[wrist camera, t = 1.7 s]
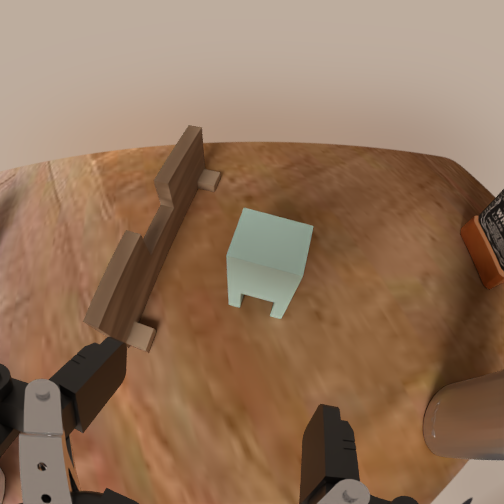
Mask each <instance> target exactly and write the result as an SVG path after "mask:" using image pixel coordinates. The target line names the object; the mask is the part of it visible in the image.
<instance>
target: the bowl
mask: <svg viewBox="0 0 504 504" xmlns="http://www.w3.org/2000/svg"><path fill="white" fill-rule="evenodd" d="M4 490H5V476H4V474H3V472H2V470H1V469H0V504H2V501H3V496H4Z"/></svg>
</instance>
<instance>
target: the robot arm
mask: <svg viewBox="0 0 504 504" xmlns="http://www.w3.org/2000/svg"><path fill="white" fill-rule="evenodd" d="M126 358H127V345H126V343H124V342H122V341H120V340H117V339H115V338H113V337H107V338H106V339H105V340H104V341H103V342H102V343H101V344H100V345H99V344H97V343H93V344H90V345H88V346H85V347H84V348H83V349H82V350H80V351H79V352H78V353H77V355H75V356H74V357H73V358H72V359H71V360H69V361H68V362H67V363H66V364H65V365H64V366H63V367H62V368H61V369H60V370H59V371H58V372H57V373H55V374H54V375H53V376H52V377H51V378H50V379H49V380H46V379H37V380H34V381H32V382H30V383H25V382H22V381H19V380H16V379H14V378H11V375H10V372H9V370H8V368H7V367H6V366H4V365H2V364H0V457H1V456H2V455H3V453H4V452H5V451H6V449H7V448H8V447H9V446H10V444H11V443H12V442H13V441H14V439H15V438H16V437H17V436H18V434H19V433H20V432H21V433H20V434H19V463H20V479H21V490H22V499H23V503H20V504H139V503H137V502H136V501H134V500H132V499H129V498H127V497H125V496H123V495H121V494H118V493H116V492H114V491H112V490H110V489H108V488H106V490H105V491H104V493H99V492H93V491H81V488H80V484H79V480H78V477H77V473H76V468H75V462H74V456H73V450H72V443H71V436H70V433H71V432H72V431H73V430H74V428H75V429H77V430H78V431H80V432H82V433H84V431H85V430H86V429H87V427H88V426H89V425H90V424H91V422H92V421H93V420H94V418H95V417H96V416H97V414H98V413H99V412H100V411H101V409H102V408H103V407H104V405H105V404H106V403H107V402H108V400H109V399H110V398H111V396H112V395H113V394H114V393H115V391H116V390H117V389H118V388H119V386H120V385H121V384H122V382H123V380H124V378H125V375H126ZM22 432H23V433H22ZM423 433H424V438H425V442H426V444H427V446H428V448H429V449H430V450H431V451H432V452H433V453H434V454H436V455H438V456H442V457H450V458H461V459H474V460H504V370H501V371H497V372H494V373H491V374H487V375H484V376H480V377H476V378H472V379H468V380H464V381H460V382H456V383H452V384H449V385H447V386H444V387H443V388H442V389H440V390H439V391H438V392H437V393H436V394H435V396H434V397H433V398H432V400H431V402H430V403H429V405H428V408H427V410H426V413H425V417H424V424H423ZM354 442H355V439H354V432H353V429H352V428H351V426H350V425H349V423H348V421H343V420H341V418H340V410H339V408H338V407H334V406H329V405H324V404H320V405H319V406H318V408H317V410H316V411H315V413H314V415H313V417H312V418H311V420H310V422H309V424H308V425H307V427H306V429H305V432H304V435H303V441H302V464H301V484H300V500H299V504H418V502H417V501H416V500H414V499H413V498H411V497H408V496H400V497H397V498H395V499H394V500H393V501H387V500H384V499H380V498H377V497H374V496H372V495H370V493H369V490H368V489H367V487H366V486H365V485H364V484H363V483H361V482H360V479H359V470H358V462H357V454H356V451H355V450H356V446H355V443H354Z"/></svg>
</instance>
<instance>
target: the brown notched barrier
mask: <svg viewBox="0 0 504 504" xmlns="http://www.w3.org/2000/svg"><path fill="white" fill-rule="evenodd" d="M219 181H220V172H216V171H212V170H207V169H205V161H204V149H203V139H202V128H201V127H196V126H188V128H187V129H186V131H185V132H184V133H183V135H182V136H181V138H180V140H179V141H178V143H177V144H176V146H175V147H174V149H173V150H172V152H171V153H170V155H169V157H168V158H167V160H166V161H165V163H164V165H163V166H162V168H161V169H160V171H159V173H158V174H157V176H156V178H155V179H154V183H155V187H156V190H157V194H158V197H159V200H160V204H161V205H160V207H159V209H158V211H157V213H156V215H155V217H154V219H153V221H152V223H151V225H150V226H149V228H148V230H147V232H146V234H145V236H144V238H142V236H141V234H138V233H134V232H131V231H127V230H126V231H125V233H124V235H123V237H122V239H121V240H120V242H119V244H118V246H117V248H116V250H115V252H114V254H113V256H112V258H111V260H110V262H109V265H108V267H107V269H106V271H105V273H104V275H103V277H102V279H101V281H100V284H99V286H98V288H97V290H96V292H95V295H94V297H93V299H92V302H91V304H90V306H89V308H88V311H87V313H86V316H85V318H84V320H83V322H85V323H86V324H88V325H89V326H91V327H92V328H94V329H95V330H97V331H98V332H100V333H102V334H103V335H105V336H106V337H113V338H115V339H117V340H120V341H122V342H124V343H126V345H127V347H128V348H129V347H130V346H133V347H135V348H138V349H140V350H143V351H146V352H148V353H149V351H150V348H151V345H152V343H153V340H154V337H155V334H156V332H157V331H156V330H155V329H154V328H151V327H148V326H145V325H143V324H140V323H139V321H140V318H141V315H142V313H143V310H144V308H145V306H146V303H147V301H148V298H149V296H150V293H151V291H152V288H153V286H154V284H155V281H156V279H157V277H158V274H159V272H160V270H161V267H162V265H163V263H164V260H165V258H166V256H167V254H168V251H169V249H170V247H171V245H172V242H173V240H174V238H175V236H176V234H177V232H178V229H179V227H180V225H181V223H182V221H183V219H184V217H185V214H186V212H187V210H188V208H189V206H190V204H191V202H192V200H193V198H194V196H195V194H196V192H197V190H198V188H199V189H203V190H208V191H212V192H215V189H216V187H217V185H218V183H219Z"/></svg>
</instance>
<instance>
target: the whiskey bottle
mask: <svg viewBox="0 0 504 504" xmlns="http://www.w3.org/2000/svg"><path fill="white" fill-rule="evenodd" d="M460 234H461V236H462V238H463V240H464V242H465V245H466V247H467V249H468V251H469V253H470V255H471V257H472V259H473V262H474V264H475V266H476V268H477V271H478V273H479V275H480V278H481V280H482V282H483V285H484V286H485V287H486V288H488V289H489V290H490V289H492V288H494V287H496V286H498V285H500V284H502V283H504V189H503V190H502V192H501V193H500V194H499V195H498V196H497V197H496V198H495V199H494V200H493V201H492V202H491V203H490V204H489V205H488V207H487V208H486V209H485V210H484V211H483V212H482V213H481V214H480V215H476V216H474V217H473V218H472V219H471V220H470V221H469V222H467V223H466V224H465V225H464V226H463V227H462V228H461V233H460Z"/></svg>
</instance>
